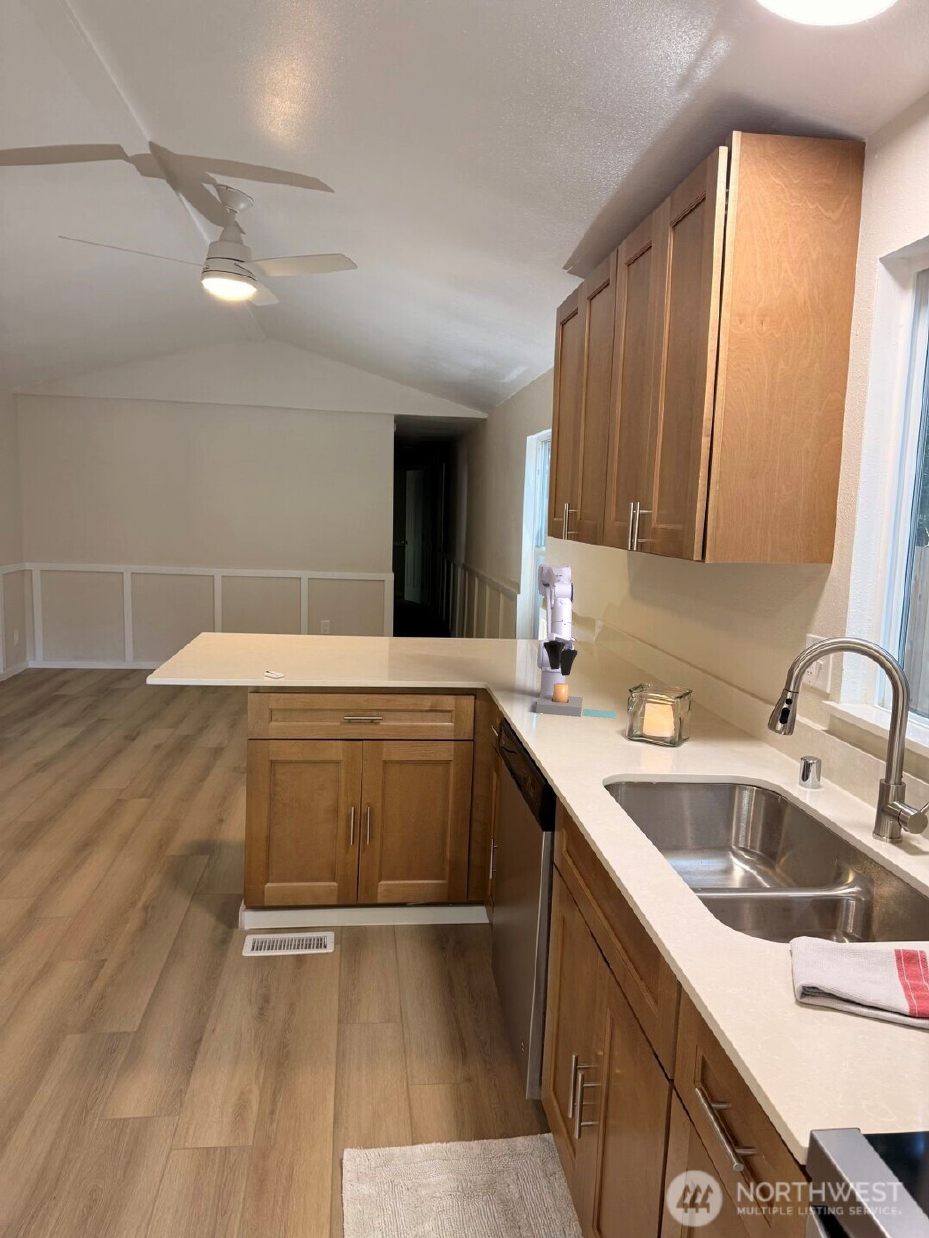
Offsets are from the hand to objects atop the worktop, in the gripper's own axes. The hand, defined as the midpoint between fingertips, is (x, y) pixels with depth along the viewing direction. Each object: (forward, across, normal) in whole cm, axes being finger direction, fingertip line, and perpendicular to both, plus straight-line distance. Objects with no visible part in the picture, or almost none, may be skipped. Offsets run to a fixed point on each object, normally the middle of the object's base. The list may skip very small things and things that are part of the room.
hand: (560, 672), depth 232 cm
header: (+10, +6, +3) cm, 12 cm away
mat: (+11, +9, -8) cm, 16 cm away
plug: (+9, +6, +2) cm, 11 cm away
